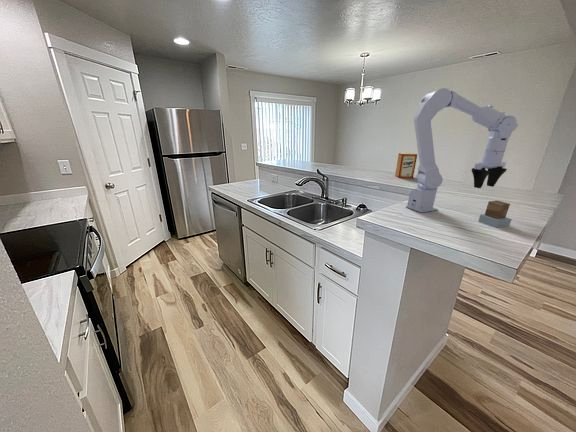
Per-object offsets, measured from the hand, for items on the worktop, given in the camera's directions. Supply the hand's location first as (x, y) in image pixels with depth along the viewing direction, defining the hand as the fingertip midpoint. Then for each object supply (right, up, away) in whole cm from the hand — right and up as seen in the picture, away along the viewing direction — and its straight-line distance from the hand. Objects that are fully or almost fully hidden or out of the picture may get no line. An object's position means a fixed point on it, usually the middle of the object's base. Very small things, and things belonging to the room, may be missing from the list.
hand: (483, 186), depth 92 cm
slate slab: (-4, -14, -9) cm, 18 cm away
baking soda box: (+3, +15, +70) cm, 71 cm away
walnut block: (-5, -12, -10) cm, 16 cm away
